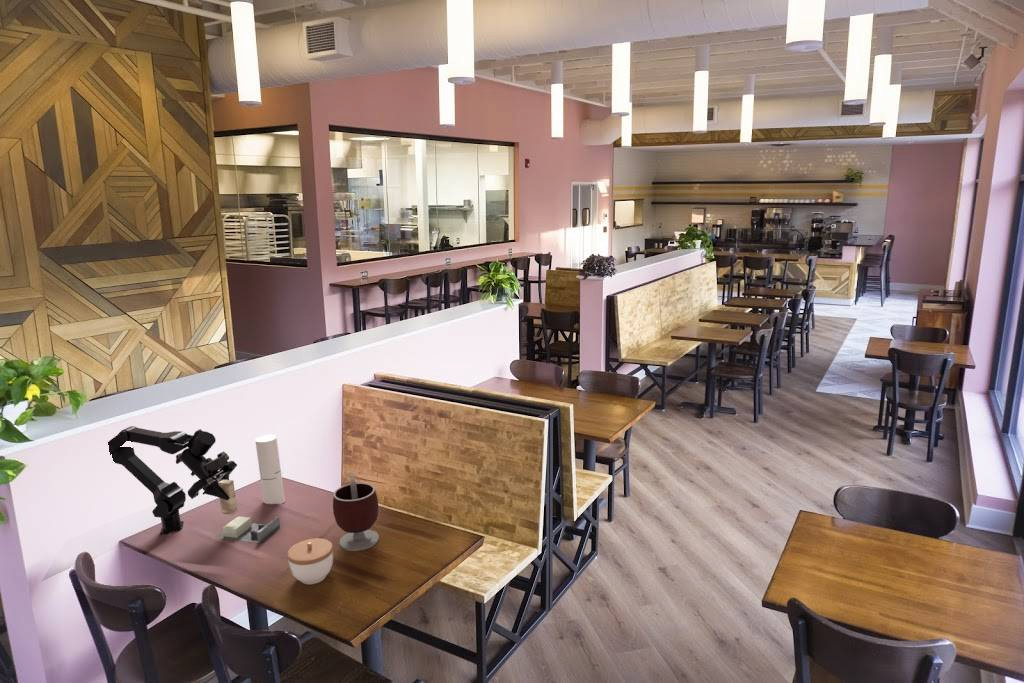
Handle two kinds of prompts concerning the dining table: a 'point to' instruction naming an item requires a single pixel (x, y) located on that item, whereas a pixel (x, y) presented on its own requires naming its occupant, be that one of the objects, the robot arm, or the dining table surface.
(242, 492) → the dining table surface
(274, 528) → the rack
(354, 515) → the mate gourd
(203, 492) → the robot arm
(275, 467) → the cylindrical container
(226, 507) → the birch board
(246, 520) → the offcut upper
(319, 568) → the lidded bowl
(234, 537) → the offcut lower
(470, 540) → the dining table surface
